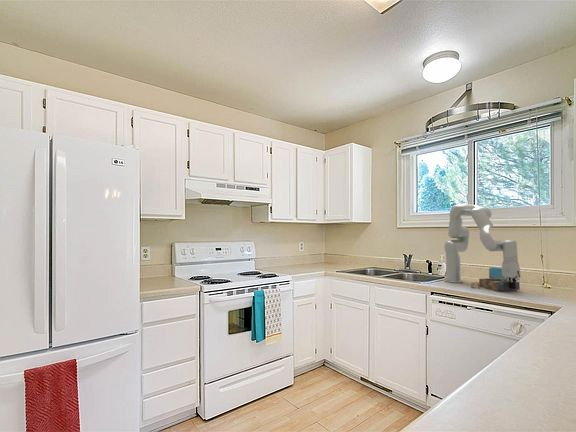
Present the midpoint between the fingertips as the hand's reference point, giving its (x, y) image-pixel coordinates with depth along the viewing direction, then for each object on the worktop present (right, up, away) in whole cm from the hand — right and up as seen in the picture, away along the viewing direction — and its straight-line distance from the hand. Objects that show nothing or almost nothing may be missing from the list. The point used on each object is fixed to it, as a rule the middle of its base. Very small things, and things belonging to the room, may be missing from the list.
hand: (512, 288), depth 196 cm
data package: (+11, -4, +28) cm, 30 cm away
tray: (-1, -2, +10) cm, 11 cm away
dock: (-1, -3, +11) cm, 11 cm away
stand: (-15, -3, +15) cm, 21 cm away
